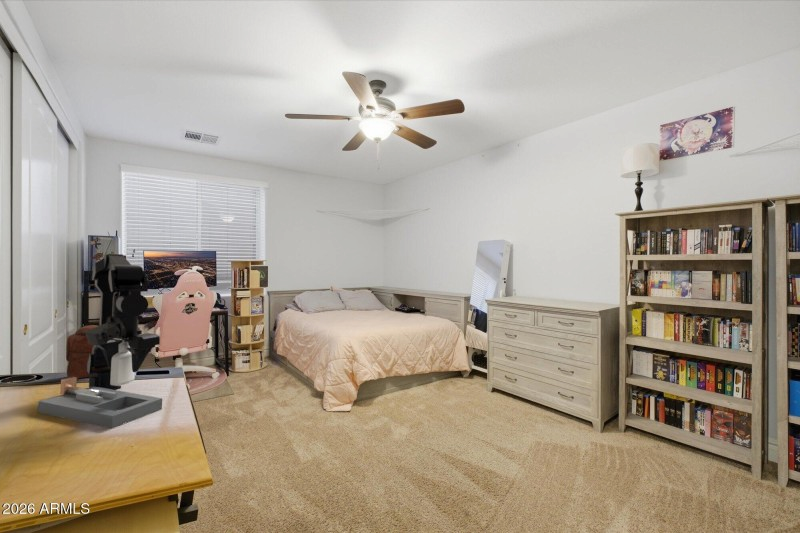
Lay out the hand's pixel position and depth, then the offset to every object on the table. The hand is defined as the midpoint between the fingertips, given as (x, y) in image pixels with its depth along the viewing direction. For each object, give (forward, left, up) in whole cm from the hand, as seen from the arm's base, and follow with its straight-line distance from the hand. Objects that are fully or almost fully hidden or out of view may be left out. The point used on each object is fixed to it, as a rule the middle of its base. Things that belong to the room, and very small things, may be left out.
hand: (123, 370), depth 98 cm
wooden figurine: (-20, -44, -12) cm, 50 cm away
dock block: (0, -7, -12) cm, 14 cm away
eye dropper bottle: (0, 0, -4) cm, 4 cm away
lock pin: (0, -15, -9) cm, 18 cm away
